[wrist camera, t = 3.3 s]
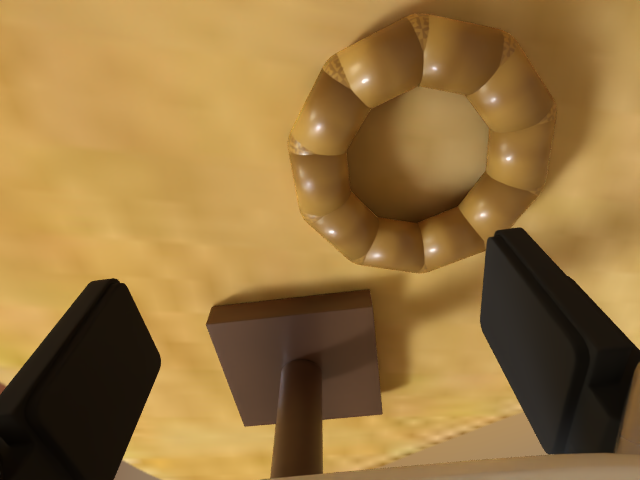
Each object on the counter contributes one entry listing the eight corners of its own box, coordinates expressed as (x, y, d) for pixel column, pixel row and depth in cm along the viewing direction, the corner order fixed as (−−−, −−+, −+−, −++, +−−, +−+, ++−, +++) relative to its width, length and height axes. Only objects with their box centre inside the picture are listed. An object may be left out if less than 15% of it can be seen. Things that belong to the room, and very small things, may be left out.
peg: (369, 288, 22) (424, 603, 11) (379, 394, 27) (425, 695, 15) (211, 306, 23) (102, 621, 11) (247, 406, 27) (196, 704, 16)
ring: (555, -11, 15) (592, -12, 13) (519, 243, 21) (541, 270, 19) (271, 34, 16) (264, 39, 14) (312, 267, 21) (312, 295, 19)
